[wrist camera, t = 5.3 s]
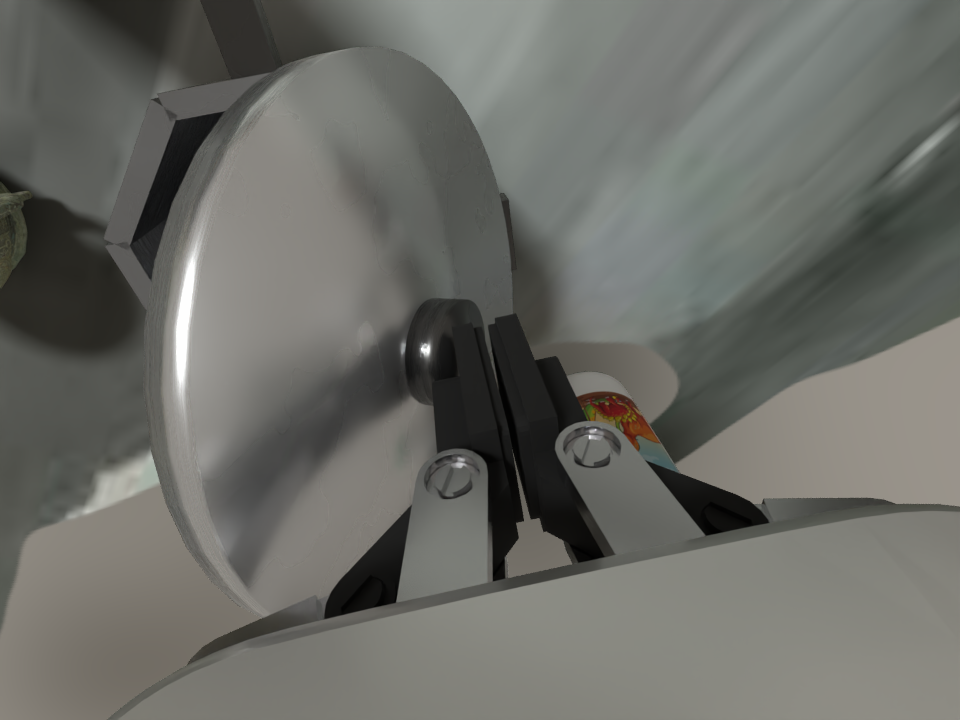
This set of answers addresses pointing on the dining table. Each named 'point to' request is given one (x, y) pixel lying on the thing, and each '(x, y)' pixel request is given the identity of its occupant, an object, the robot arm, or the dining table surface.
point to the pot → (191, 140)
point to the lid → (315, 316)
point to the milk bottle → (618, 413)
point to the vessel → (11, 230)
